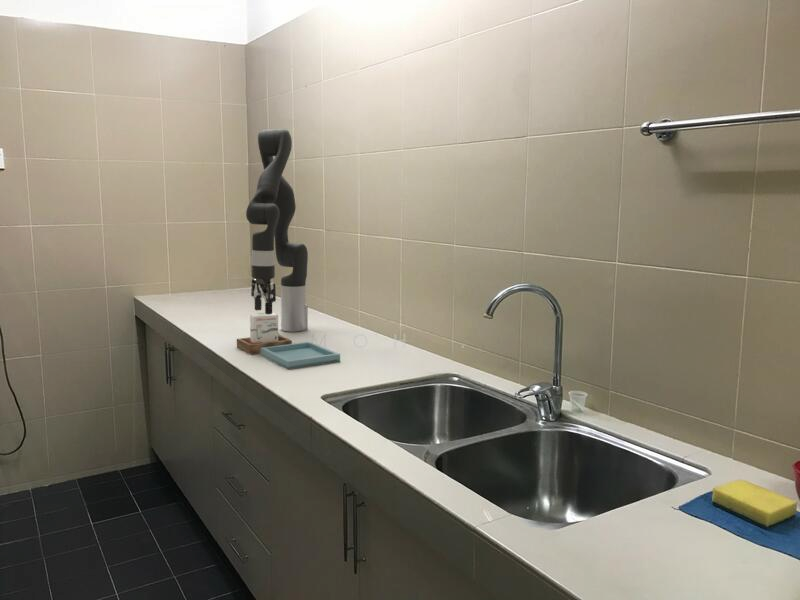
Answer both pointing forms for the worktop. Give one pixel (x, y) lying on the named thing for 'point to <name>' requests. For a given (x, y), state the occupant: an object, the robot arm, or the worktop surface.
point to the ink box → (263, 328)
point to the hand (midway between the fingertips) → (263, 312)
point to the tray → (299, 355)
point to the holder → (255, 348)
